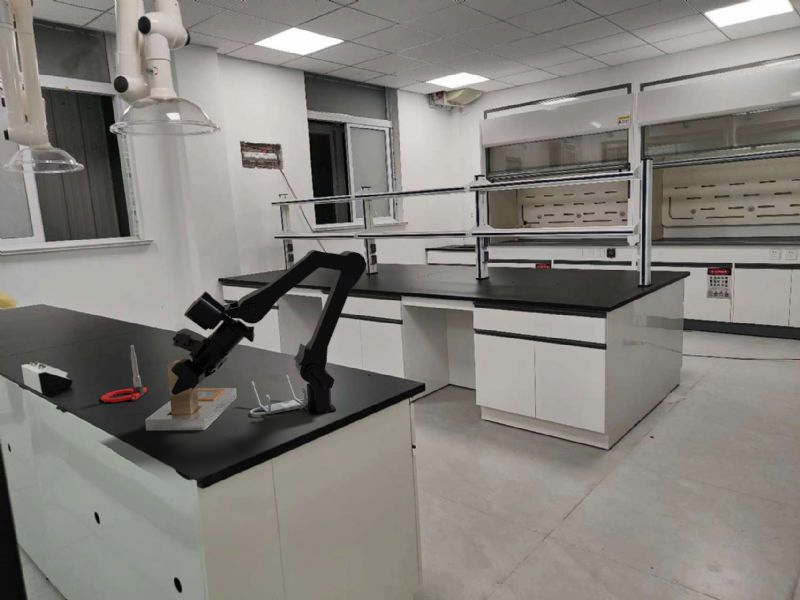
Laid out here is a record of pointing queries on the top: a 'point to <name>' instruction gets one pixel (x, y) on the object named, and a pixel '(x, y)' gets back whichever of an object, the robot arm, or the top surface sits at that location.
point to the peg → (182, 396)
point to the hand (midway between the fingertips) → (177, 390)
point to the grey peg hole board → (209, 410)
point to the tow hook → (136, 391)
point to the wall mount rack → (280, 406)
